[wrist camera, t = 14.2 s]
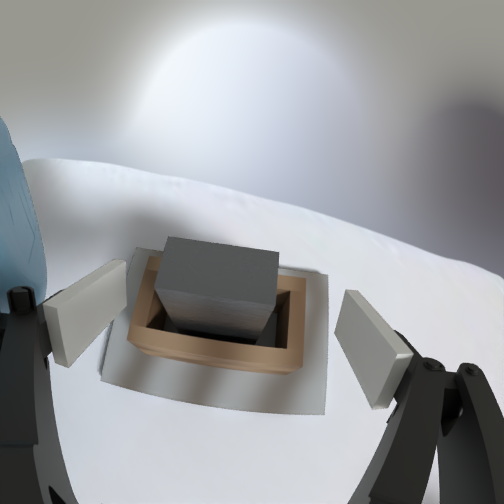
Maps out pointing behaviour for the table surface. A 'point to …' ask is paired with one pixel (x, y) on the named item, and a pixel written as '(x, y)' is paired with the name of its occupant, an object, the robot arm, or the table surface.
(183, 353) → the post slot
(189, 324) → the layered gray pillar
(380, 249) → the table surface
